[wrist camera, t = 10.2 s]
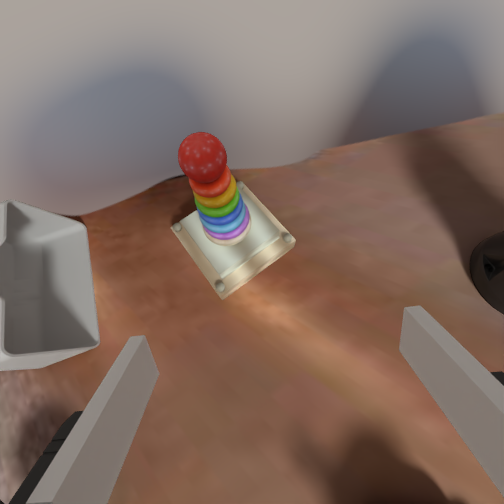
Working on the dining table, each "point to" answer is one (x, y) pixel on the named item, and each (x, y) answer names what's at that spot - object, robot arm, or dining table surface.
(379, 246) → the dining table surface
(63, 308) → the tank
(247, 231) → the stacking toy
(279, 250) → the plinth
